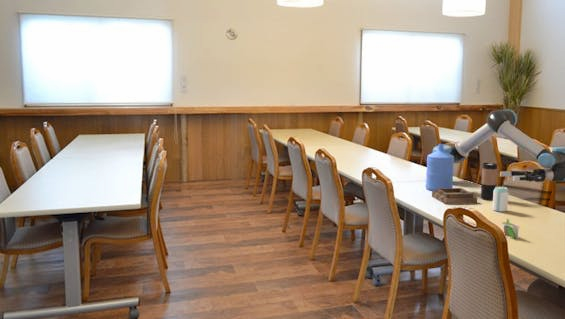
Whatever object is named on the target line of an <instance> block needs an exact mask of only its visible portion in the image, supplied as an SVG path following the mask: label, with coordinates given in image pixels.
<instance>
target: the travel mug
mask: <svg viewBox="0 0 565 319" xmlns="http://www.w3.org/2000/svg"><path fill="white" fill-rule="evenodd" d="M497 173H498V164H497V163H489V162H484V163H482V170H481V184H480V186H481V188H480V189H481V190H480V198H481V200H484V201H493V191H494V189H495V187H497V175H498V174H497Z"/></svg>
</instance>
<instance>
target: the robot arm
mask: <svg viewBox="0 0 565 319" xmlns="http://www.w3.org/2000/svg"><path fill="white" fill-rule="evenodd" d="M517 123H518V115H517V113H516V112H515V111H514V110H512V109H508V108H504V109H495V110H492V111H490V113H488V114H487V117H486V123H485V124H483V125H482V126H481V127H480V128H478V129H476V130H475V131H474V132H473V133H471V134H469V135H468V136H467V137H465V138H464V139H463V140H461V141H455V143H453V144H452V145H451V146H450V145H447V144H444V146H443V147H444V149H443V150H444V151H445V152H447V153H449V154H450V155H452V156H454V164H453V165H455V164H460V163H462V162H464V161H465V160H466V158H467V157H469V155H470V153H471V152H472V151H473V150H474V149H476V148H478V147H479V146H480V145H482V144H483V143H484V142H485V141H486V142H487V140H489V139H490V138H492V137H493V136H495V135H497V134H498V135H502V136H503V137H504V138H506V139H508V141H511V142H512V143H513V144H514V145H516V146H517V147H519V148H520V149H522V150H523V151H524V152H526V153H527V154H529V155H530V156H531V157H533V158H534V159H536V160H537V162H538V164H539V165H540V166H541V167H542V168H534V169H533V170H532V171H528V170H527V171H524V170H523V171H522V170H521V171H520V170H509V171H500V172H499V177H501V178H502V177H510V178H513V179H512V181H513V182H523V181H524V182H529V183H531V182H535V183H544V182H543V181H544V180H545V178H546V179H550V180H551V182H565V147H564V146H554V147H553V148H552V151H550V150H549V149H548V148H546V147H544V146H543V145H541V144H540V143H539V142H537V141H536V140H535V139H533V138H531V137H530V136H528V135H527V134H525V133H524V132H522V130H520V129H519V128H517V127H515V126H516V125H517ZM438 146H439V145H436V146H434V147H433V148H432V153H434V152H436V151H438ZM543 167H544V168H543Z"/></svg>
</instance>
